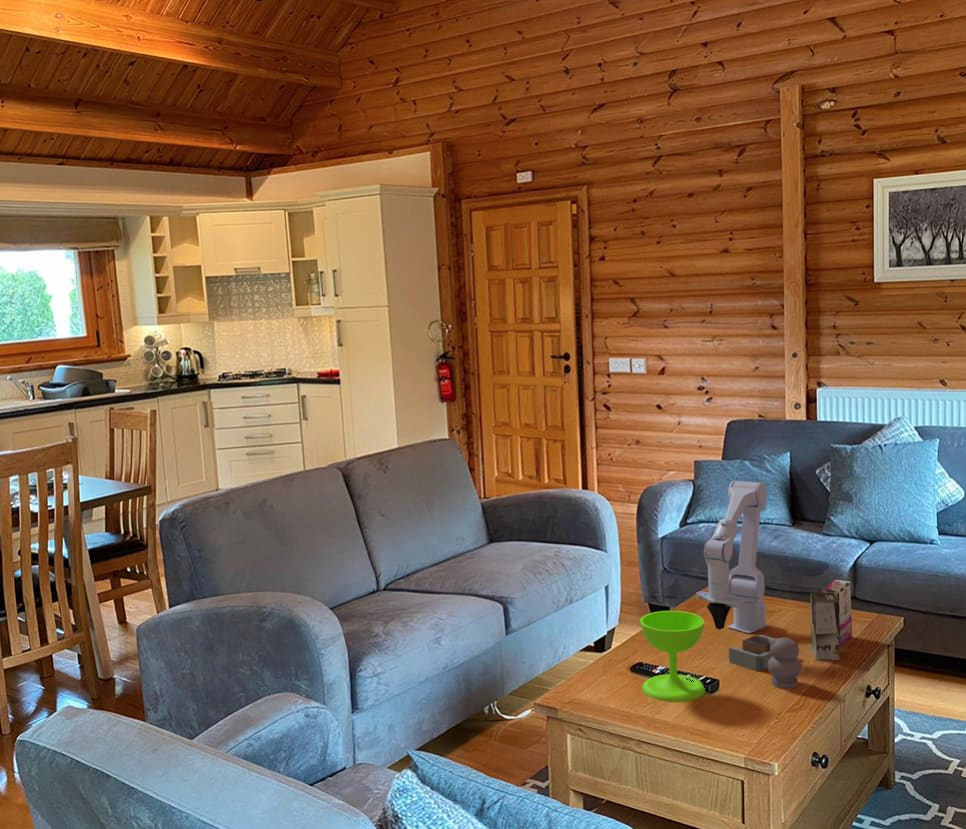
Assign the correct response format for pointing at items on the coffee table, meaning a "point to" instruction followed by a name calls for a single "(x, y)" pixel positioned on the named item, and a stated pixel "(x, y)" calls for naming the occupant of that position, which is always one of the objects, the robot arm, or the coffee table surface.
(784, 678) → the grey stacked figurine
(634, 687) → the coffee table surface
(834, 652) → the coffee box
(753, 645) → the brown block
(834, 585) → the candy bar box
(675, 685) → the wineglass
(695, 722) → the coffee table surface
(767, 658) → the bay
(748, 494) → the robot arm
